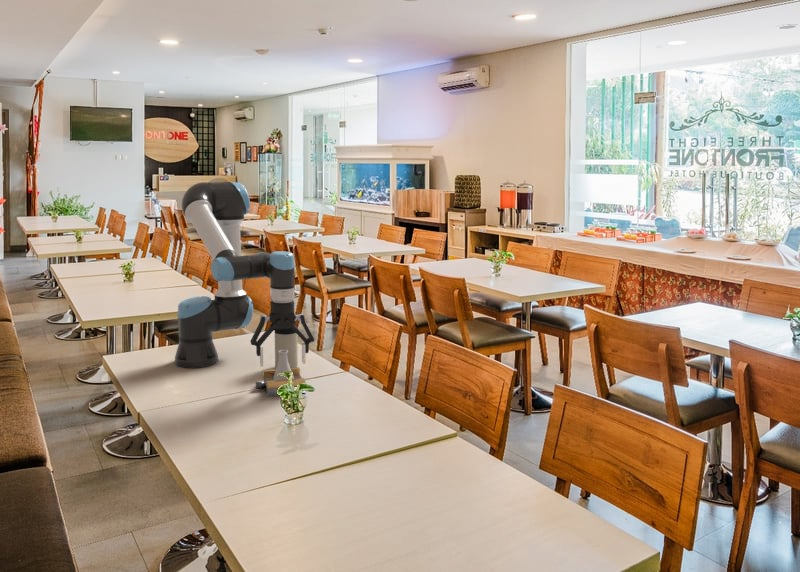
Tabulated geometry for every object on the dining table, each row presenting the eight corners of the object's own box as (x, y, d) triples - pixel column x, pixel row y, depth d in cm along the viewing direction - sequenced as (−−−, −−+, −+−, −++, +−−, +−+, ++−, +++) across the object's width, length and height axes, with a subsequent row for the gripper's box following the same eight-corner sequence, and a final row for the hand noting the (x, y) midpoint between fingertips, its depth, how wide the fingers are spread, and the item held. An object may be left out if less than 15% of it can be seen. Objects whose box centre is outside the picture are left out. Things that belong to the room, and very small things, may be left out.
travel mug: (302, 366, 248) (301, 317, 245) (287, 372, 241) (286, 322, 238) (285, 362, 252) (284, 314, 249) (270, 368, 246) (269, 319, 242)
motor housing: (253, 383, 229) (253, 370, 228) (299, 379, 234) (298, 367, 233) (257, 397, 216) (257, 383, 215) (305, 393, 220) (305, 380, 220)
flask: (297, 377, 228) (296, 348, 226) (291, 384, 221) (291, 354, 219) (275, 376, 229) (275, 347, 227) (269, 383, 222) (269, 353, 220)
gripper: (243, 304, 213) (244, 370, 217) (323, 301, 220) (322, 365, 224) (241, 299, 220) (242, 362, 224) (319, 296, 227) (318, 358, 231)
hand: (282, 364), depth 224 cm, fingers open, 13 cm apart
